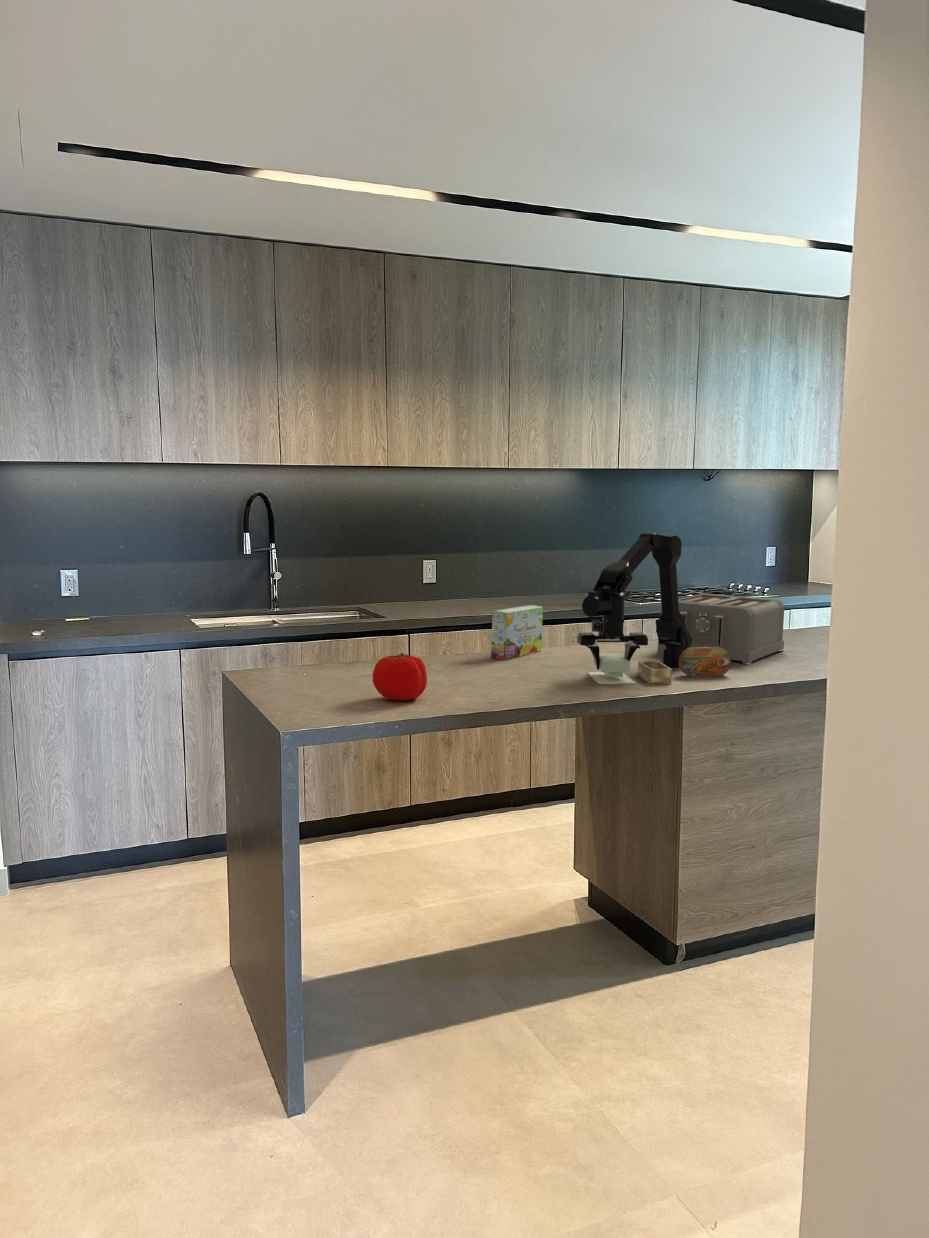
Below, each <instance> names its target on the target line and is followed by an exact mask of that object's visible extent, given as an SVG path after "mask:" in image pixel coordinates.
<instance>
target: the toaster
mask: <svg viewBox="0 0 929 1238" xmlns="http://www.w3.org/2000/svg"><path fill="white" fill-rule="evenodd" d="M678 603H679V612H680V614H681V615H682V617H683V618H684V620H685V623H686V629H687V631H688V633H689V634H690V636H691V638H692V644H691V646H689V647H687V648H686V649H688V648H694V647H721V648H724V649H726V650H727V651H728V652H729V654H730V656H731V661H738V662H742V664H743V663H748V664H747V665H750V664H749V663H752V664H753V661H756V660H759V659H762V658H764V657H767V656H769V655H772V654H773V653H777V652H779V650H782V649H784V650H785V639H783V636H784V618H785V605H784V603H783V602H782V601H781V600H779V599H772V598H760V597H750V596H738V595H737V596H736V595H727V594H713V593H701V594H698V595H692V596H686V597H682V598H678ZM661 614H662V606H661V607H660V615H661ZM662 649H663V644H659V642H658V641H657V653H658V654H661V650H662Z"/></svg>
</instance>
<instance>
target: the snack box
mask: <svg viewBox="0 0 929 1238" xmlns="http://www.w3.org/2000/svg"><path fill="white" fill-rule="evenodd" d="M543 614H544V607H543V606H539V605H532V604H531V605H522V606H514V607H509V608H502V609H497V610H496V609H495V610H492V619H491V620H492V624H491V625H492V626H491V645H490V647H491V648H490V658H491V659H494V658H495V659H494V660H499V661H505V660H510V658H511V659H514V658H513V657H515V658H519V656H520V657H523V656H522V655H525V656H527V655H526V654H529V655H531V654H530V653H533V652H538V651H541V652H542V639H543V621H544V620H543V617H544V616H543ZM537 649H541V650H537ZM538 653H539V652H538Z"/></svg>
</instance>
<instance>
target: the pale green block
mask: <svg viewBox="0 0 929 1238" xmlns="http://www.w3.org/2000/svg"><path fill="white" fill-rule="evenodd" d="M599 656H600V666H599V671H600V672H603V673H604V674H605V675H607V676H608V677H623V673H631V660H630V661H628V660H627V659H626V658H624V655H622V654H620V653H599ZM593 664H594V665H595V666H596V664H595V661H594V660H593Z"/></svg>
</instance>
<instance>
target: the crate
mask: <svg viewBox="0 0 929 1238" xmlns="http://www.w3.org/2000/svg"><path fill="white" fill-rule="evenodd" d="M672 674H673V670H672V667H667V666H666V665H664V664H663V663H661V661H659V660H658V661H657V660H649V661H648V660H644V661H643V660H638V661H637V676H638V677H639V678H641V679H642V680H644V681H645V682H646V681H647V682H646V683H647V684H649V685H659V684H660V685H670V684H672V677H673V675H672Z"/></svg>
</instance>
